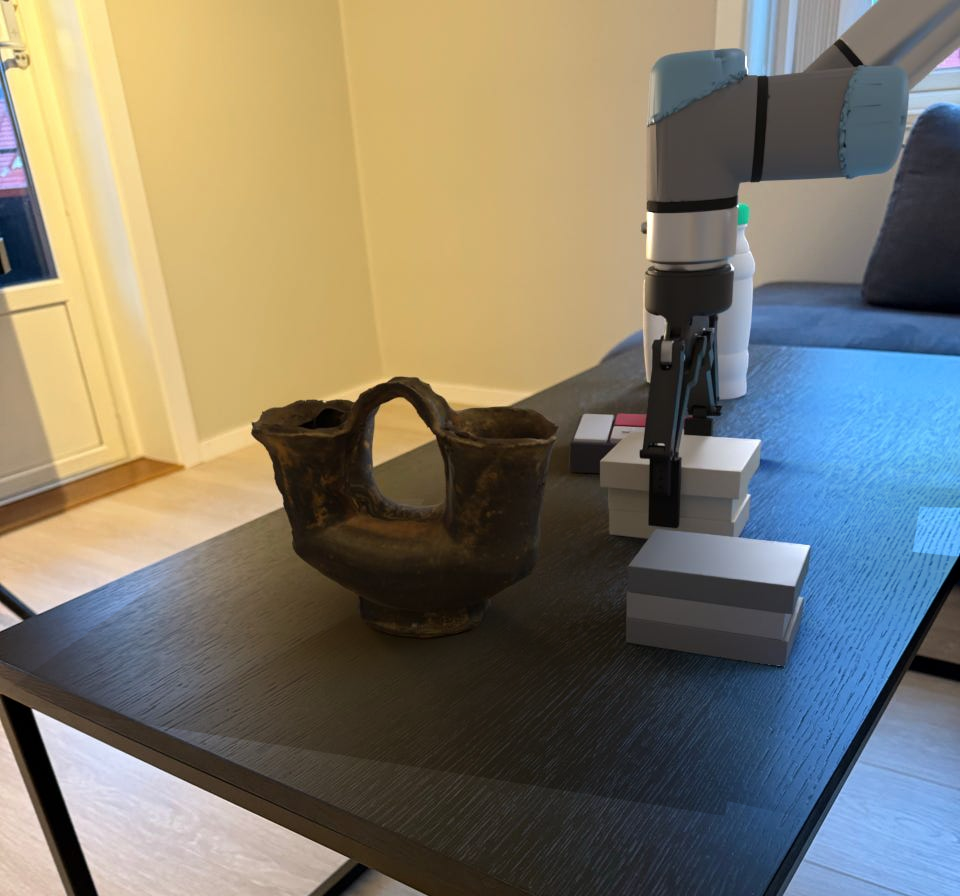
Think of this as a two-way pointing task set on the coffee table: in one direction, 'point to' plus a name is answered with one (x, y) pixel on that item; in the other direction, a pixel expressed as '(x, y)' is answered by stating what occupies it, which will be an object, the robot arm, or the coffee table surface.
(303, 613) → the coffee table surface
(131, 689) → the coffee table surface
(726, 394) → the water bottle
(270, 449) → the pottery vessel
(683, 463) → the flat white block
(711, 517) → the white books
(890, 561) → the coffee table surface
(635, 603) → the grey books
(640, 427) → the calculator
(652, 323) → the cup
